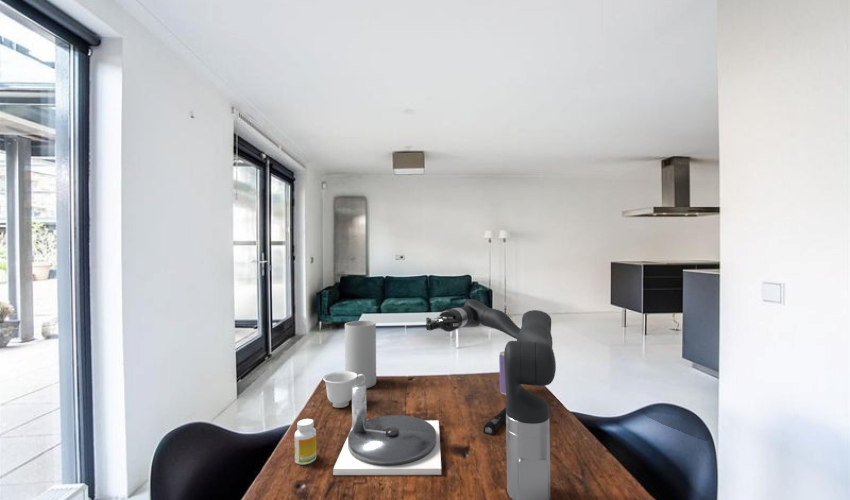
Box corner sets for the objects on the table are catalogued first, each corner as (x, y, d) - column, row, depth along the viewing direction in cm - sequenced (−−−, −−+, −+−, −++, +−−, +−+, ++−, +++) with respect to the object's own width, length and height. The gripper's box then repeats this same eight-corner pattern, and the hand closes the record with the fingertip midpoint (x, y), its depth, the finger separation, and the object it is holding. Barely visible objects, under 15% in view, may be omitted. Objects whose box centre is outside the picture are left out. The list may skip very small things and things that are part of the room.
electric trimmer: (512, 418, 121) (512, 408, 121) (494, 437, 108) (493, 426, 108) (501, 415, 123) (501, 405, 123) (482, 433, 110) (481, 423, 110)
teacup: (369, 407, 130) (369, 378, 130) (325, 414, 124) (325, 384, 125) (362, 395, 141) (361, 368, 141) (321, 401, 136) (321, 373, 136)
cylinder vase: (343, 381, 157) (343, 321, 157) (373, 378, 161) (373, 319, 161) (346, 391, 145) (346, 327, 145) (378, 387, 149) (378, 325, 149)
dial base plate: (441, 474, 89) (441, 467, 89) (333, 475, 90) (333, 467, 90) (438, 425, 115) (438, 419, 115) (354, 425, 116) (354, 419, 116)
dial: (454, 445, 100) (453, 393, 100) (374, 477, 86) (373, 416, 86) (405, 415, 119) (405, 371, 119) (334, 437, 105) (333, 387, 105)
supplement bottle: (320, 457, 98) (320, 420, 98) (304, 467, 93) (304, 428, 93) (306, 452, 100) (306, 415, 101) (290, 461, 96) (290, 423, 96)
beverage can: (497, 394, 141) (497, 354, 141) (502, 388, 146) (501, 350, 146) (513, 396, 138) (513, 356, 138) (517, 391, 143) (517, 352, 143)
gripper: (470, 331, 131) (446, 341, 116) (437, 327, 138) (411, 336, 123) (470, 310, 131) (446, 317, 116) (437, 307, 138) (411, 313, 123)
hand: (428, 327), depth 120 cm, fingers closed
